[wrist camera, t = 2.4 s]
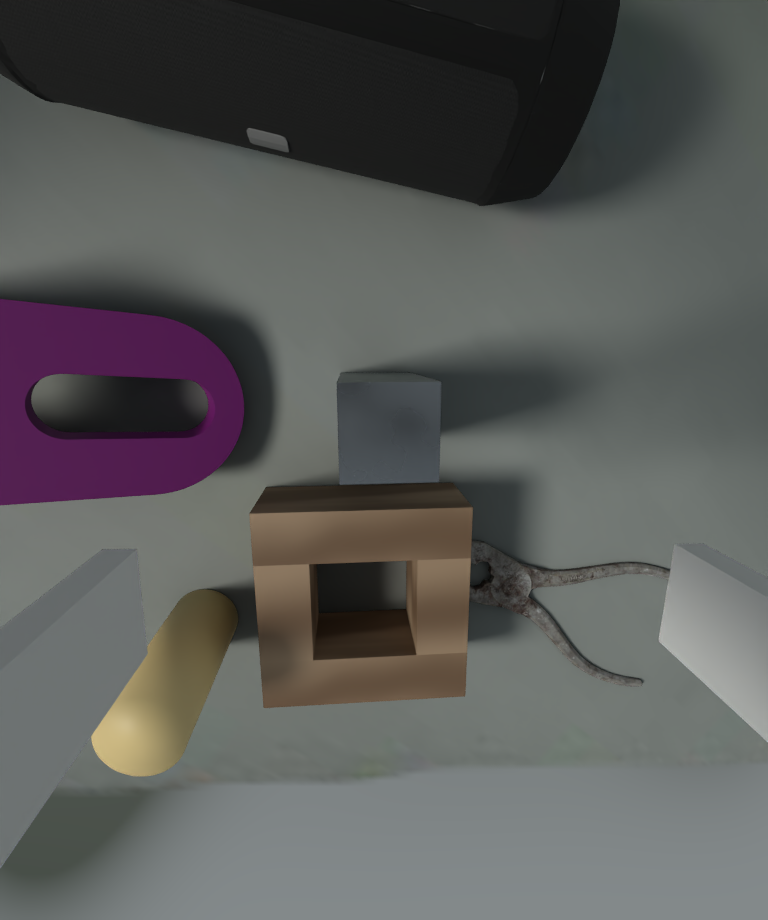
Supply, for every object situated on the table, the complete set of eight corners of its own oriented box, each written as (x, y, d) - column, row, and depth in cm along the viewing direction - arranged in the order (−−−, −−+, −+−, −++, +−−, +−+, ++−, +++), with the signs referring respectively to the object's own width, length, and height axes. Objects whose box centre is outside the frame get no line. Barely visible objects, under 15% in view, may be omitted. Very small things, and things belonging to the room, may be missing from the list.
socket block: (265, 487, 29) (249, 513, 24) (452, 482, 30) (472, 507, 25) (276, 654, 32) (263, 708, 27) (447, 645, 33) (465, 696, 28)
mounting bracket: (216, 327, 33) (-155, 288, 23) (245, 325, 25) (-269, 268, 16) (215, 458, 35) (-127, 469, 25) (242, 489, 27) (-217, 520, 18)
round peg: (170, 590, 30) (85, 701, 21) (235, 588, 31) (181, 696, 21) (177, 647, 31) (98, 779, 21) (240, 644, 31) (190, 773, 22)
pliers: (663, 692, 34) (402, 663, 32) (655, 684, 35) (401, 655, 33) (705, 574, 32) (429, 535, 30) (696, 569, 33) (427, 530, 31)
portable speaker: (41, 130, 24) (-165, -20, 14) (49, -98, 22) (-186, -451, 12) (502, 238, 27) (589, 173, 17) (546, 45, 25) (672, -150, 15)
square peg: (340, 372, 28) (336, 382, 18) (409, 372, 28) (441, 381, 19) (342, 440, 29) (339, 484, 19) (408, 439, 29) (439, 481, 19)
